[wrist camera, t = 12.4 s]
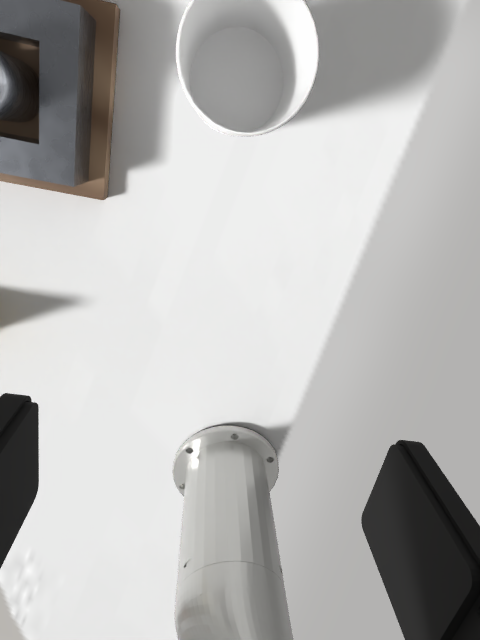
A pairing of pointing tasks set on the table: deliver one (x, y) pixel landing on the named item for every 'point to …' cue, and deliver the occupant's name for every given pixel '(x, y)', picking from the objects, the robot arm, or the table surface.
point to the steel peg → (17, 90)
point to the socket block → (53, 90)
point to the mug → (247, 62)
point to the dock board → (101, 101)
